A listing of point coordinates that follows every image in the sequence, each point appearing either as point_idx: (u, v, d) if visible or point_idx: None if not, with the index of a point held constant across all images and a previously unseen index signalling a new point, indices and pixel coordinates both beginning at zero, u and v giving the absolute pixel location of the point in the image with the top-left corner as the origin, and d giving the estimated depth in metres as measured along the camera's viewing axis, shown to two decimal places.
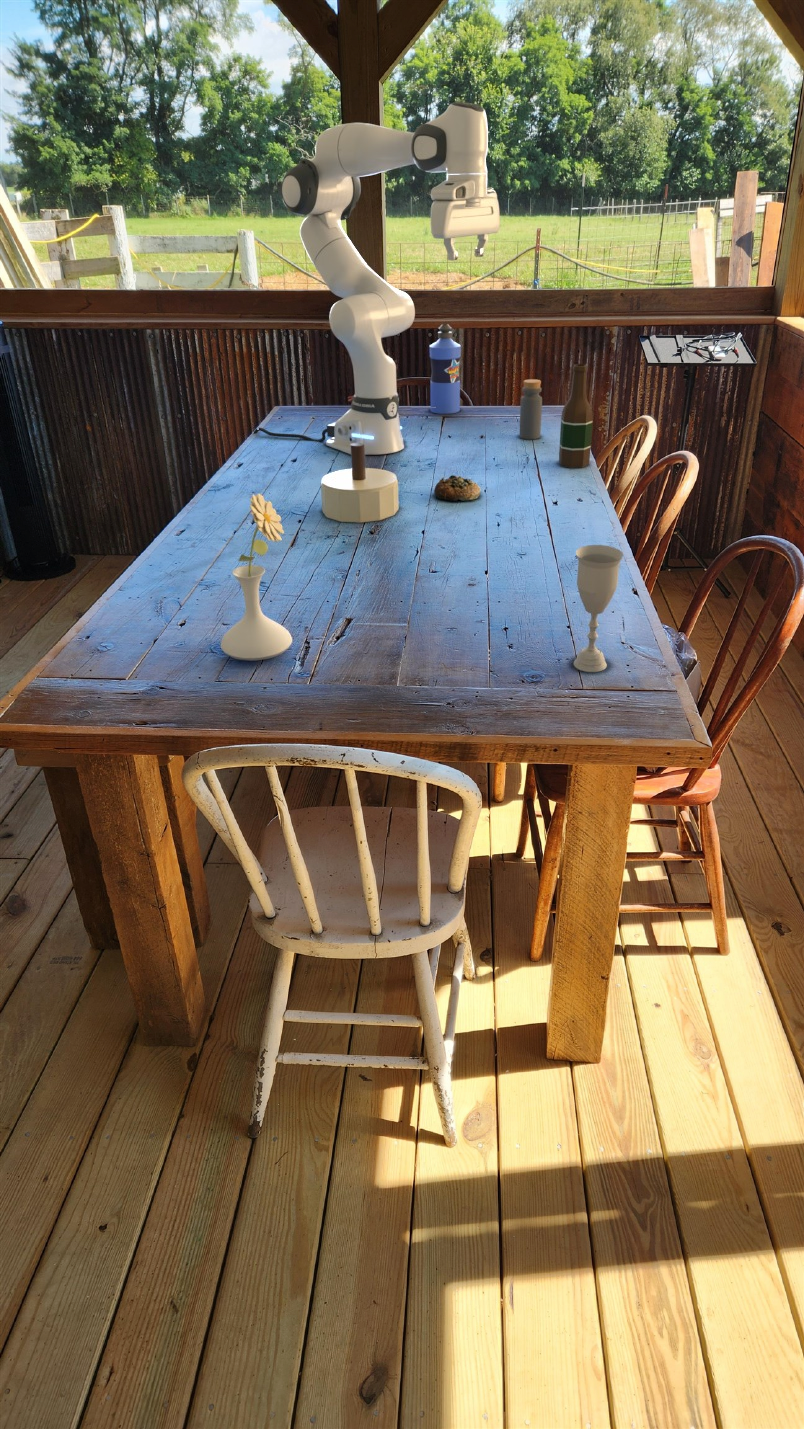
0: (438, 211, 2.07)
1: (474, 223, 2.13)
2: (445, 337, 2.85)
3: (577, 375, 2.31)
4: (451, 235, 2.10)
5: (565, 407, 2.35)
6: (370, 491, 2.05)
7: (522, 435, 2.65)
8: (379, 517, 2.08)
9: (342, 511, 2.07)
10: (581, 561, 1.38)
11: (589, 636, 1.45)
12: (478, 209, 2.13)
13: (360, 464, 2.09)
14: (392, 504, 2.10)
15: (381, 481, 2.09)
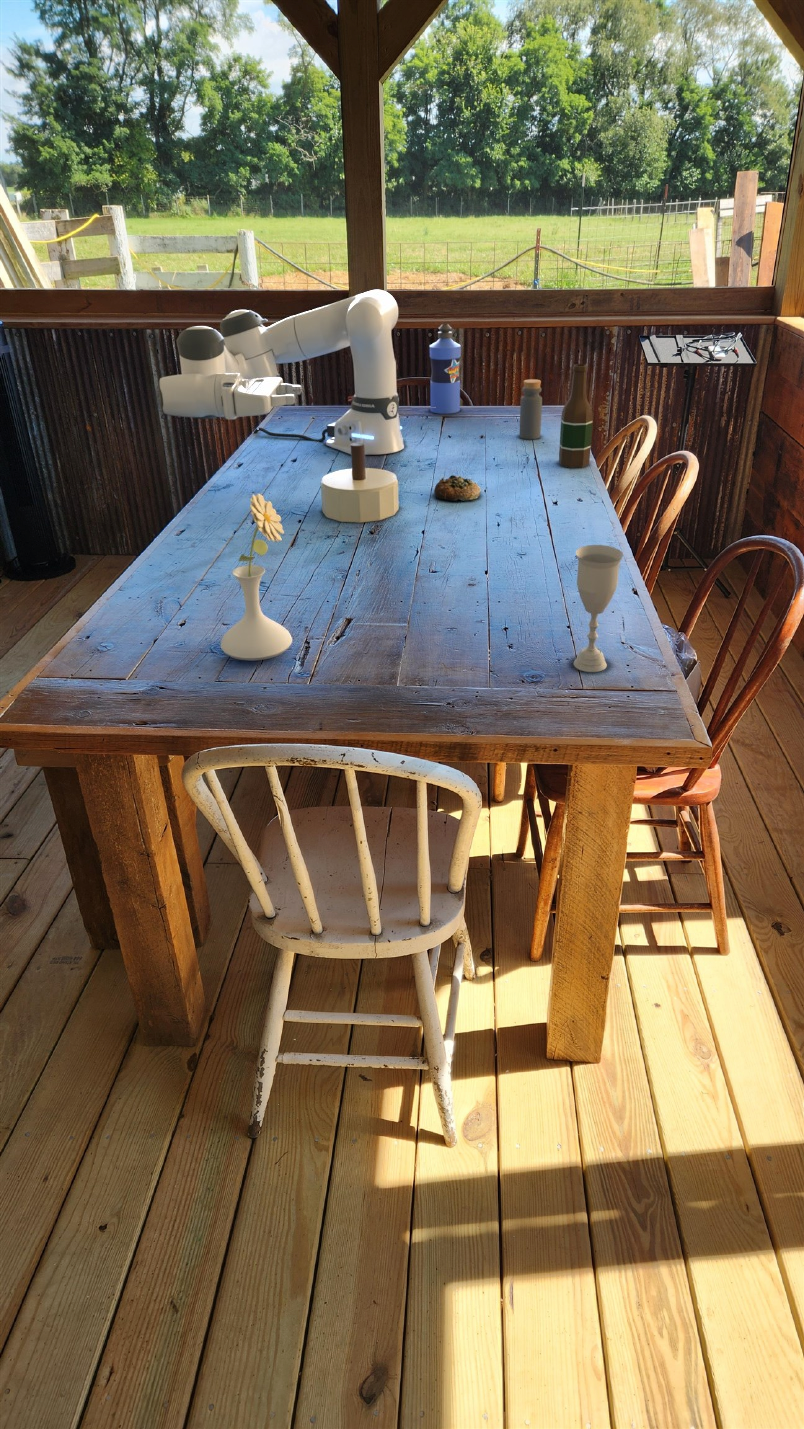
0: (243, 404, 1.95)
1: (264, 385, 2.03)
2: (445, 337, 2.85)
3: (577, 375, 2.31)
4: (267, 393, 1.96)
5: (565, 407, 2.35)
6: (370, 491, 2.05)
7: (522, 435, 2.65)
8: (379, 517, 2.08)
9: (342, 511, 2.07)
10: (581, 561, 1.38)
11: (589, 636, 1.45)
12: (254, 385, 2.05)
13: (360, 464, 2.09)
14: (392, 504, 2.10)
15: (381, 481, 2.09)
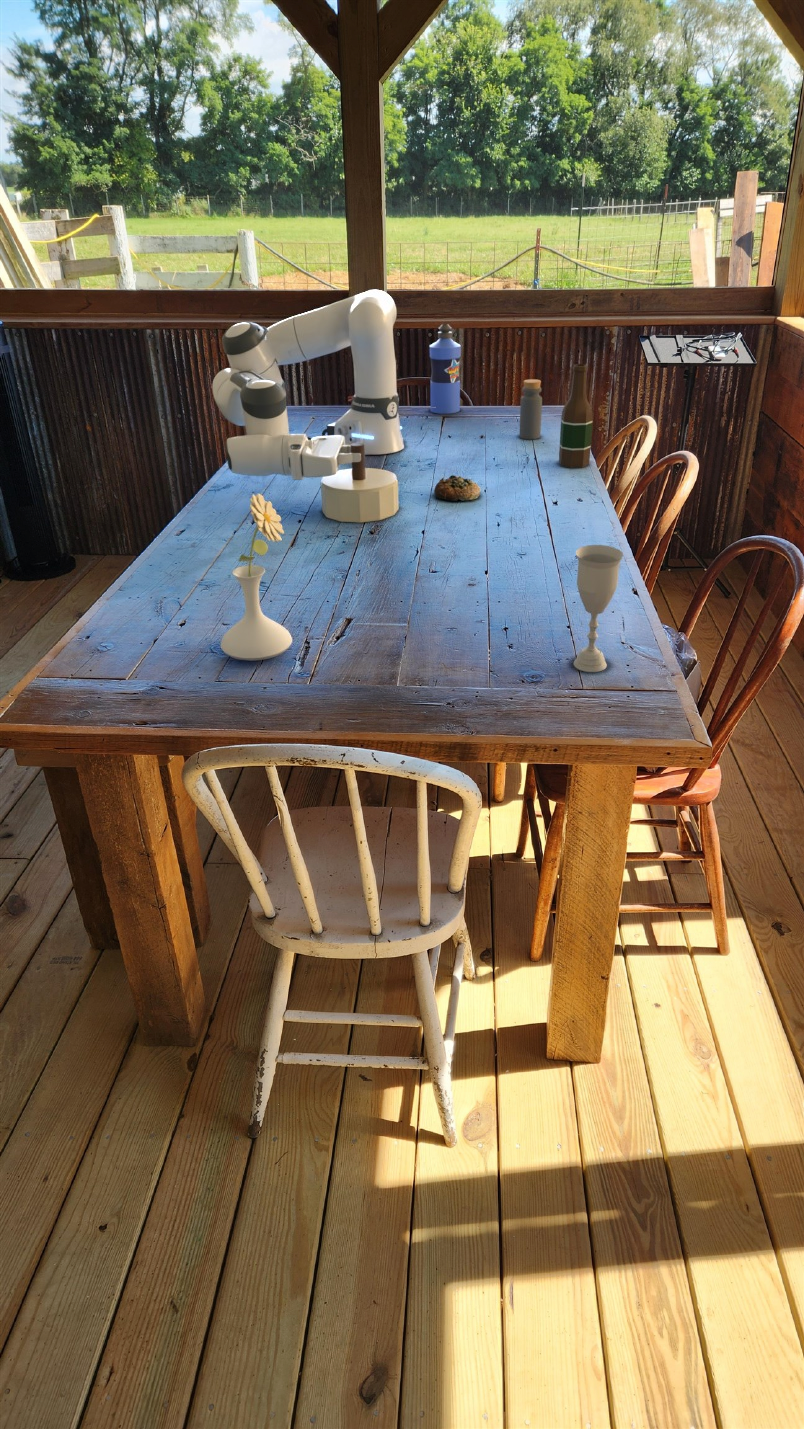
0: (311, 466, 2.01)
1: (329, 445, 2.09)
2: (445, 337, 2.85)
3: (577, 375, 2.31)
4: (334, 454, 2.02)
5: (565, 407, 2.35)
6: (370, 490, 2.05)
7: (522, 435, 2.65)
8: (379, 517, 2.08)
9: (342, 511, 2.07)
10: (581, 561, 1.38)
11: (589, 636, 1.45)
12: (318, 444, 2.10)
13: (360, 464, 2.09)
14: (392, 504, 2.10)
15: (381, 481, 2.09)
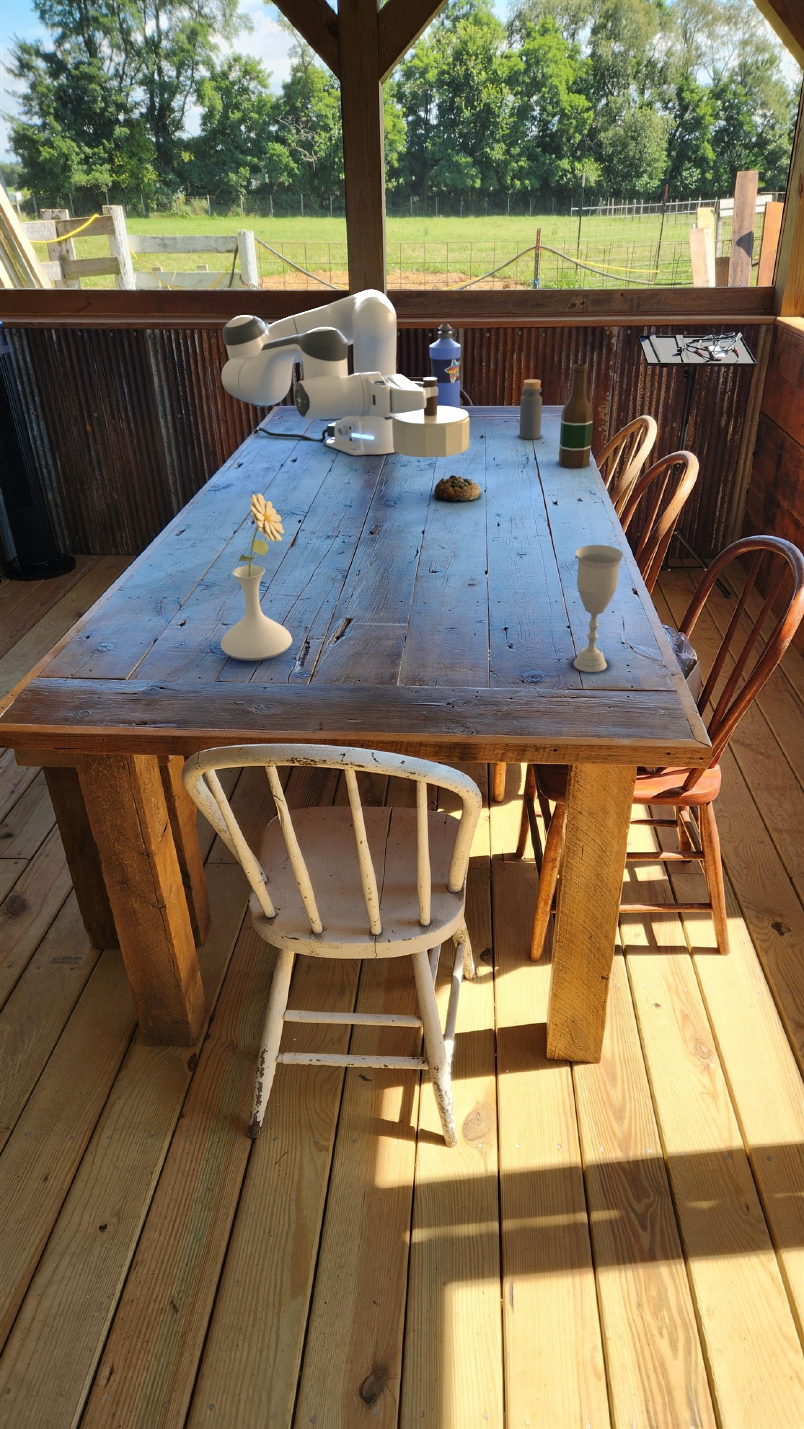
0: (402, 400, 1.97)
1: (402, 382, 2.05)
2: (445, 337, 2.85)
3: (577, 375, 2.31)
4: (421, 388, 1.99)
5: (565, 407, 2.35)
6: (455, 423, 2.04)
7: (522, 435, 2.65)
8: (461, 450, 2.08)
9: (427, 446, 2.05)
10: (581, 561, 1.38)
11: (589, 636, 1.45)
12: (388, 382, 2.06)
13: (435, 399, 2.07)
14: (468, 437, 2.10)
15: (456, 414, 2.09)
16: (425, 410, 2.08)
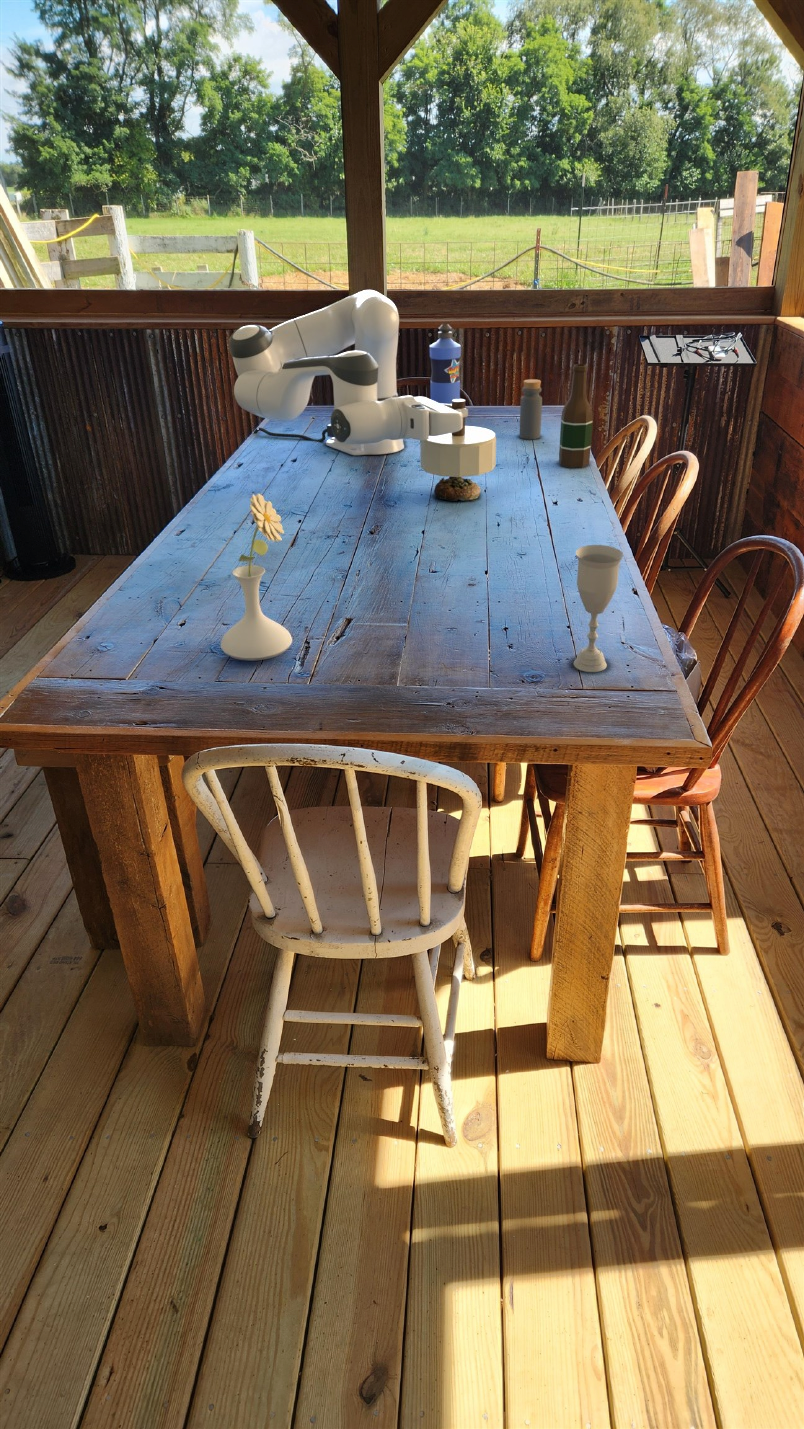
0: (441, 423, 2.02)
1: (432, 404, 2.10)
2: (445, 337, 2.85)
3: (577, 375, 2.31)
4: (456, 410, 2.05)
5: (565, 407, 2.35)
6: (486, 442, 2.11)
7: (522, 435, 2.65)
8: (491, 468, 2.15)
9: (461, 466, 2.11)
10: (581, 561, 1.38)
11: (589, 636, 1.45)
12: None
13: (463, 420, 2.13)
14: (495, 455, 2.17)
15: (483, 434, 2.15)
16: None
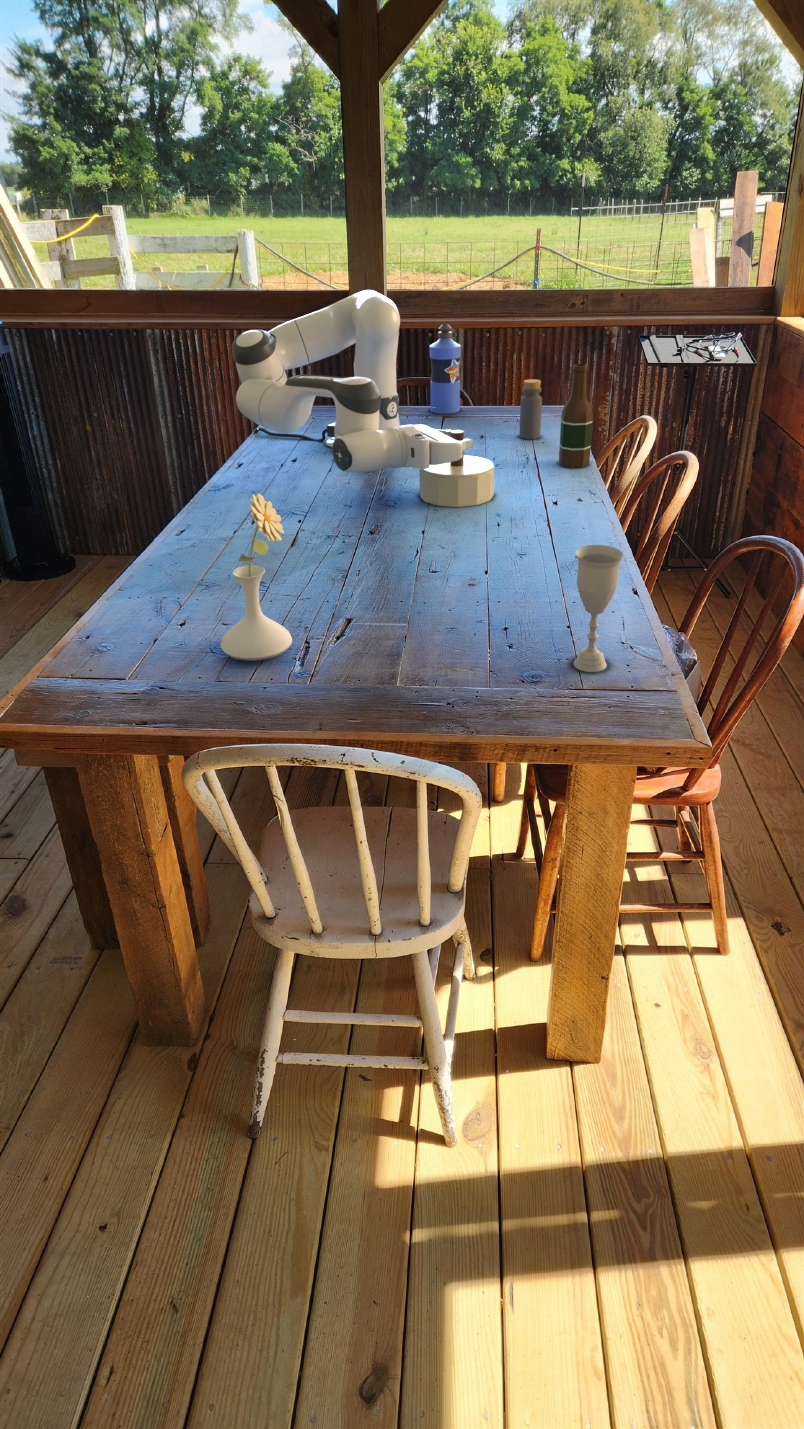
0: (441, 452, 2.05)
1: (432, 433, 2.14)
2: (445, 337, 2.85)
3: (577, 375, 2.31)
4: None
5: (565, 407, 2.35)
6: (484, 473, 2.14)
7: (522, 435, 2.65)
8: (489, 497, 2.18)
9: (460, 496, 2.14)
10: (581, 561, 1.38)
11: (589, 636, 1.45)
12: None
13: None
14: (493, 484, 2.21)
15: (481, 464, 2.19)
16: (453, 461, 2.17)
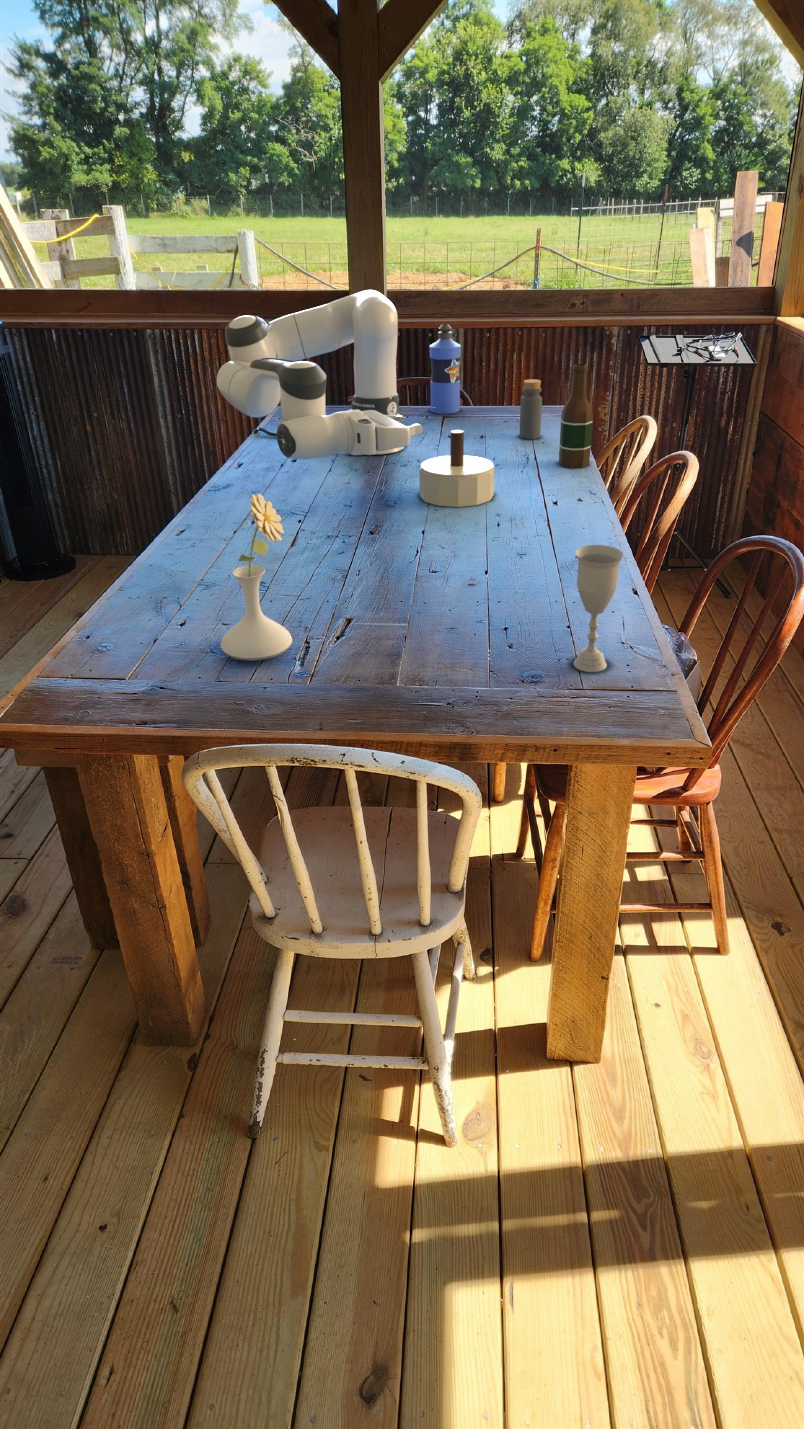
0: (388, 438, 2.00)
1: (381, 418, 2.08)
2: (445, 337, 2.85)
3: (577, 375, 2.31)
4: None
5: (565, 407, 2.35)
6: (484, 473, 2.14)
7: (522, 435, 2.65)
8: (489, 497, 2.18)
9: (460, 496, 2.14)
10: (581, 561, 1.38)
11: (589, 636, 1.45)
12: None
13: (462, 450, 2.16)
14: (493, 484, 2.21)
15: (481, 464, 2.19)
16: (453, 461, 2.17)
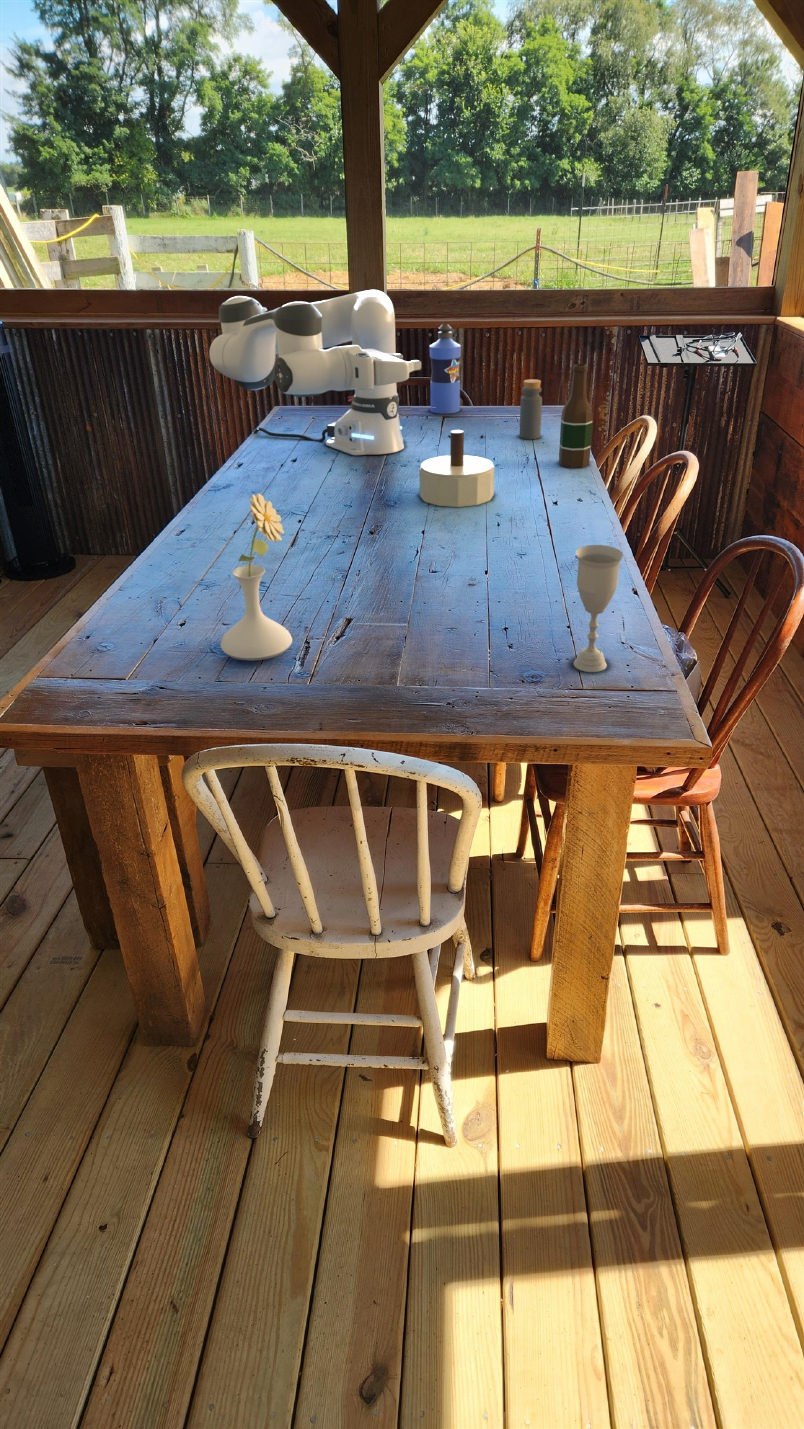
0: (386, 372, 1.97)
1: (379, 354, 2.05)
2: (445, 337, 2.85)
3: (577, 375, 2.31)
4: (402, 359, 1.99)
5: (565, 407, 2.35)
6: (484, 473, 2.14)
7: (522, 435, 2.65)
8: (489, 497, 2.18)
9: (460, 496, 2.14)
10: (581, 561, 1.38)
11: (589, 636, 1.45)
12: None
13: (462, 450, 2.16)
14: (493, 484, 2.21)
15: (481, 464, 2.19)
16: (453, 461, 2.17)
